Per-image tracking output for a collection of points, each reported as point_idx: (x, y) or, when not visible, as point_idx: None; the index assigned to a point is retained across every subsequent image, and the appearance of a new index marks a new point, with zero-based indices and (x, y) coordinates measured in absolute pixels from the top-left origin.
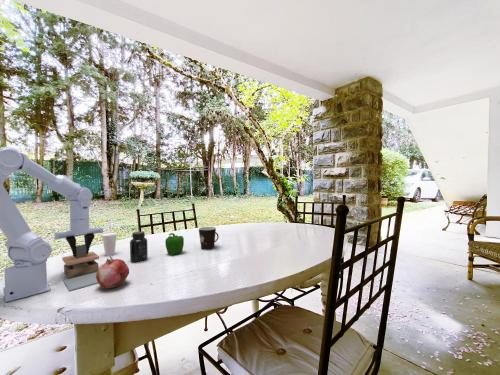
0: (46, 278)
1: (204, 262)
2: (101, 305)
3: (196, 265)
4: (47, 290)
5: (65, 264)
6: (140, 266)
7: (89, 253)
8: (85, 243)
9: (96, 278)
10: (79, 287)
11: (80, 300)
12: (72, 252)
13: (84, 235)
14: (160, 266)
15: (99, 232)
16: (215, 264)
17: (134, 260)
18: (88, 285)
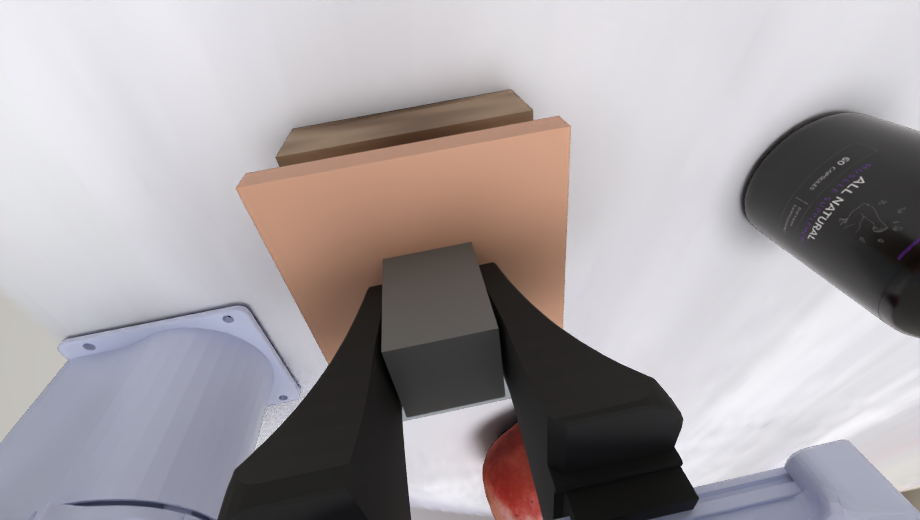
0: (261, 410)
1: (872, 380)
2: (471, 503)
3: (827, 393)
4: (293, 398)
5: (291, 160)
6: (713, 299)
7: (520, 208)
8: (512, 365)
9: (483, 477)
10: (419, 417)
11: (423, 474)
12: (359, 311)
13: (553, 432)
14: (759, 344)
15: (778, 490)
16: (860, 409)
17: (755, 227)
18: (451, 408)
